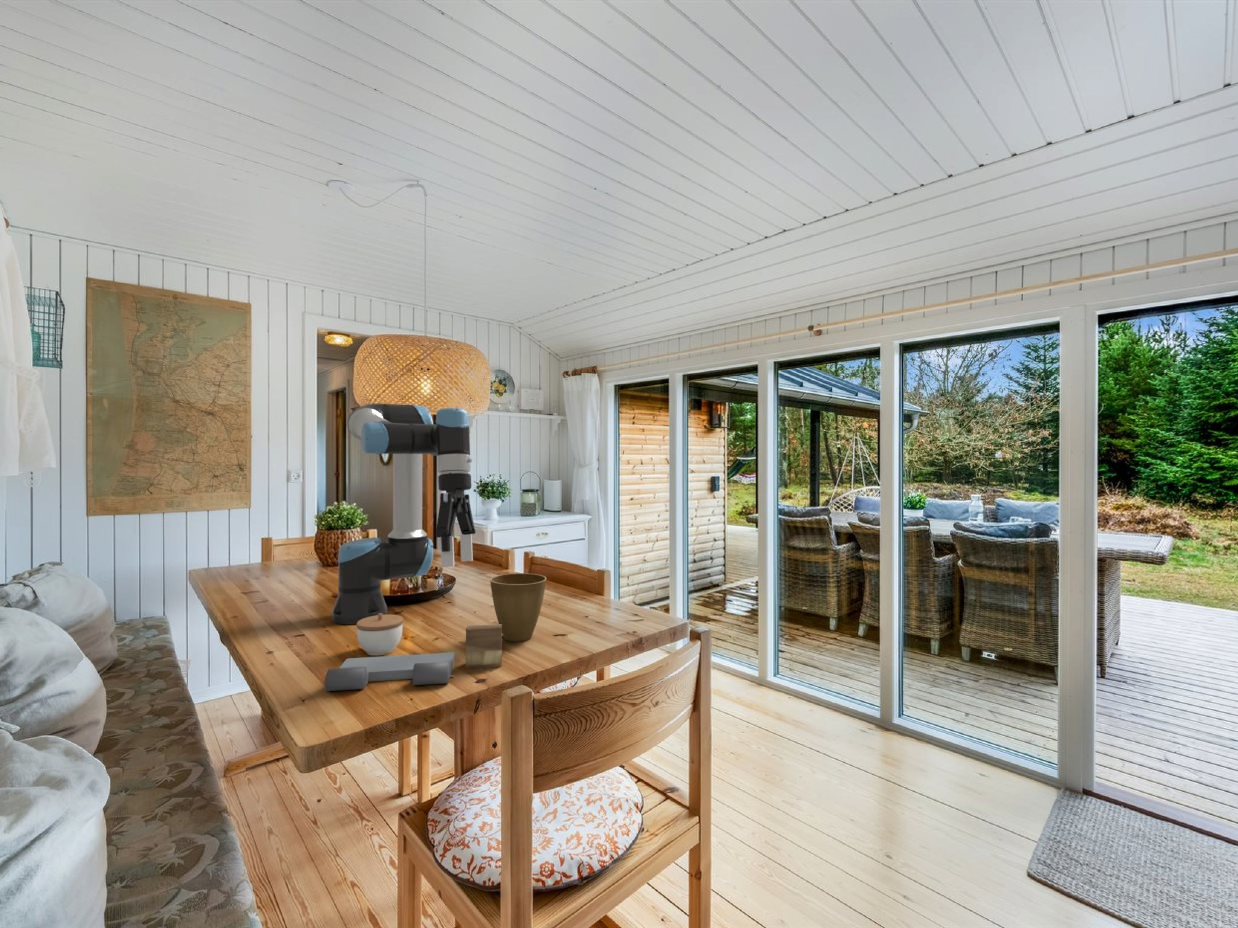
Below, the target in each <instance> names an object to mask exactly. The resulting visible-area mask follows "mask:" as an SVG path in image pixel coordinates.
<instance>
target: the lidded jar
mask: <svg viewBox="0 0 1238 928" xmlns="http://www.w3.org/2000/svg"><path fill="white" fill-rule="evenodd" d="M403 628H404V617H403V616H401V615H398V614H387V615H383V614H382V613H379V614H378V615H376V616H371V617H367V618H364V619H361V620H359V621H358V622H357V624H356V634H357V641H358V643H359V646H360V647H361V649H363V651H365V652H366V654H367V655H369V656H383V655H384V656H385V655H387V654H391V653H392V652H394V650H395V648H397V646H398V645H399V643H400V642H401V640H402V636H403V630H404V629H403Z"/></svg>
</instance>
